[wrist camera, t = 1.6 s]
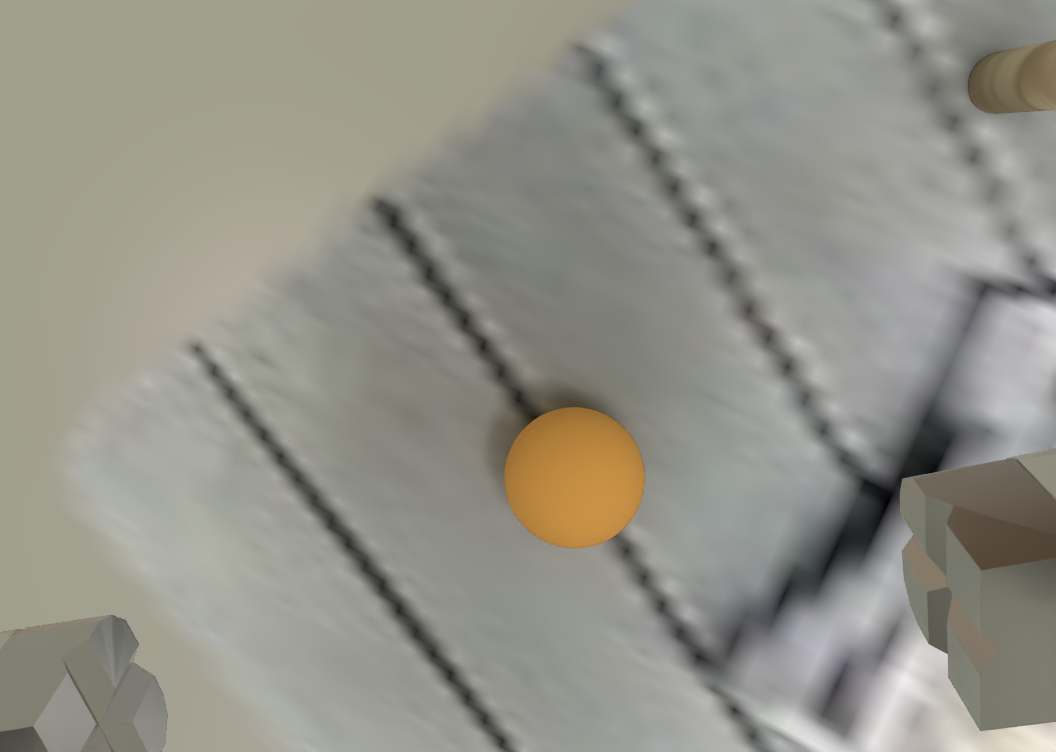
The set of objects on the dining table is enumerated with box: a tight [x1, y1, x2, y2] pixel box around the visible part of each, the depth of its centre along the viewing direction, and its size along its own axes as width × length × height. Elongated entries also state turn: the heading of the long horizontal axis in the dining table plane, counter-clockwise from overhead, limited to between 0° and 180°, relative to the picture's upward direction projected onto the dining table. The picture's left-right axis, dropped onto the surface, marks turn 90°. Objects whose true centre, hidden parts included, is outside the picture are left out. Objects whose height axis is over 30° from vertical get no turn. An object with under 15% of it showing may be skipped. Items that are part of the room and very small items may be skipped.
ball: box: [505, 407, 645, 548], centre depth 39 cm, size 6×6×6 cm
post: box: [968, 40, 1056, 114], centre depth 33 cm, size 2×2×9 cm
